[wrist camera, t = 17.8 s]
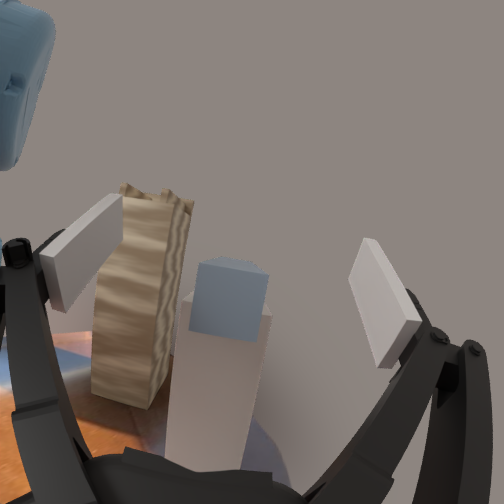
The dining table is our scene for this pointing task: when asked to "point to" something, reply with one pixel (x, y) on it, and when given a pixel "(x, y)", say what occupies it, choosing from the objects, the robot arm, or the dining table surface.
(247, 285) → the blue-grey bar
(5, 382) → the dining table surface
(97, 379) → the tall open-topped box
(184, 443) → the white block
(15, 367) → the robot arm
